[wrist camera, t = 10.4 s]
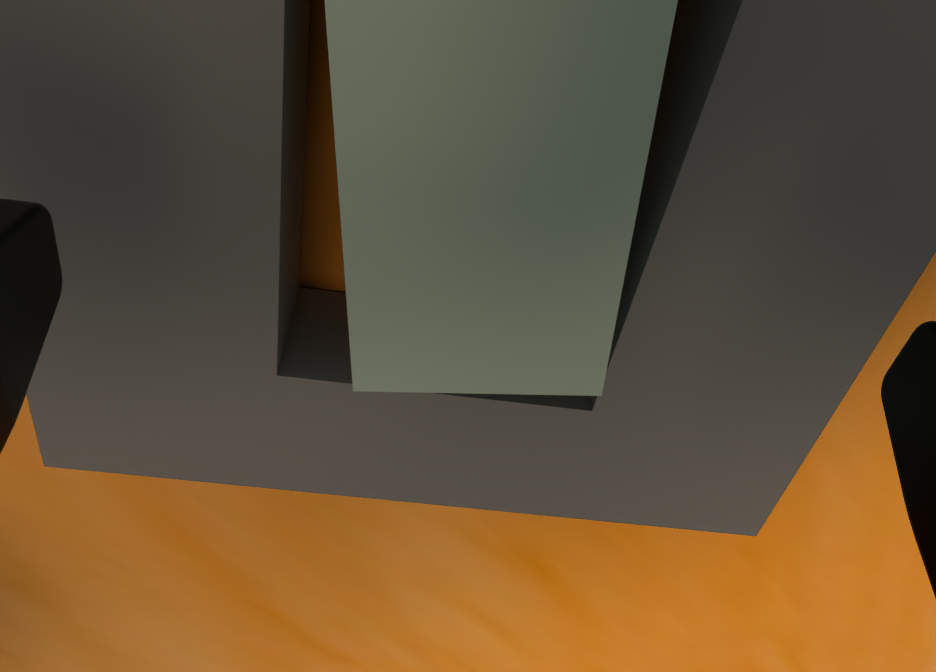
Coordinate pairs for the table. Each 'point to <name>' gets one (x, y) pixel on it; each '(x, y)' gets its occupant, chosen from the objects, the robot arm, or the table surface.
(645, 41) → the key block
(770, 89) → the socket board
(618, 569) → the table surface
